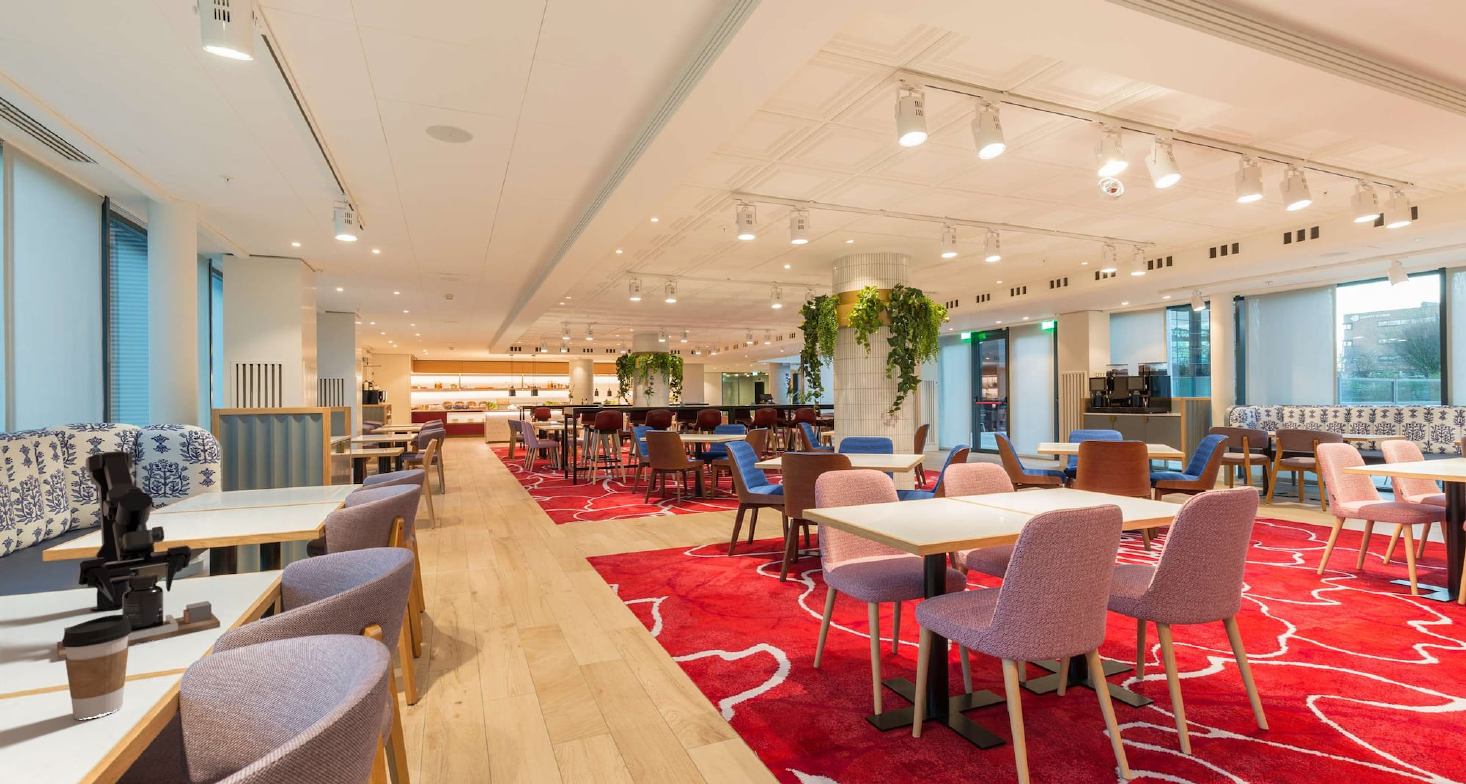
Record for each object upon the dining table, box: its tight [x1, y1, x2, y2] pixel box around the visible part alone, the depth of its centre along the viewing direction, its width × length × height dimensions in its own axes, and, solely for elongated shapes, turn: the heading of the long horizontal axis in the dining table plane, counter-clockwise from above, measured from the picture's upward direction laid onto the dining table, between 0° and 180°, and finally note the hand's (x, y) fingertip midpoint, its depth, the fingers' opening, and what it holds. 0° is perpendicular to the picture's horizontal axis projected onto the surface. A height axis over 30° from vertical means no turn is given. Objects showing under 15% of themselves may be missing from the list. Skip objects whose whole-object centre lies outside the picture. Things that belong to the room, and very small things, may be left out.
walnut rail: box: [56, 600, 221, 662], centre depth 148 cm, size 26×11×5 cm, turn 137°
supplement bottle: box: [121, 573, 164, 632], centre depth 148 cm, size 7×7×12 cm
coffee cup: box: [61, 614, 131, 720], centre depth 112 cm, size 8×8×15 cm
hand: (142, 595), depth 147 cm, fingers open, 9 cm apart
